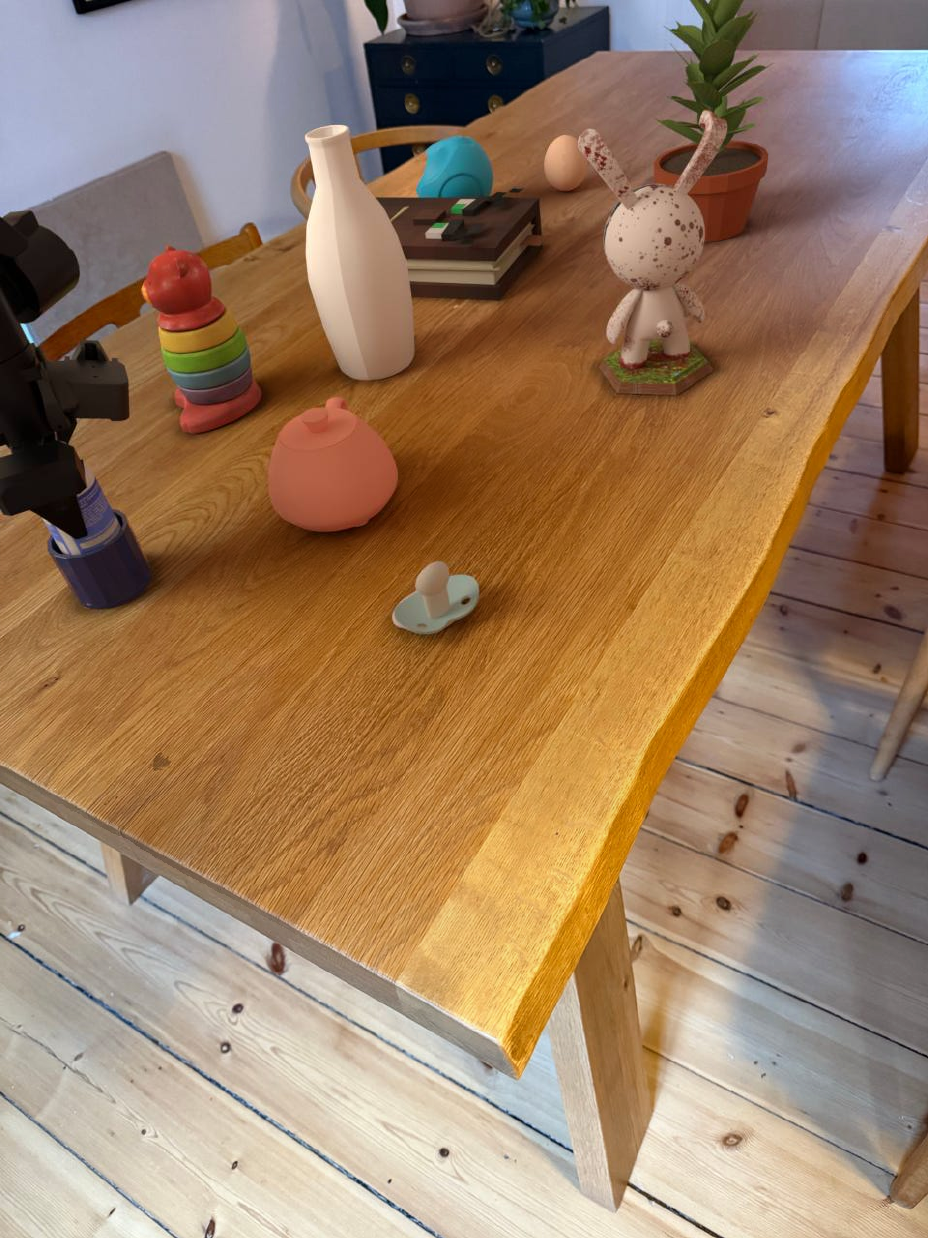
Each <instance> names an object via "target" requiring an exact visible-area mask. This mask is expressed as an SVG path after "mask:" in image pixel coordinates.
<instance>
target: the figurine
mask: <svg viewBox="0 0 928 1238" xmlns="http://www.w3.org/2000/svg"><path fill="white" fill-rule="evenodd" d="M699 126H700V127H701V128H702V129H704V130H705V132H704V134H702V135H703V137H702V139H701V142H700V144H699V146H698V148H697V150H696V152H695V153H694V155H693V157H692V159H691V160H690V162H689V164H688V165H687V167H686V168H685V170H684V172H683V173H682V175H681V176H680V178H679V180H678V181H677V183H676V185H675V187H673V186H669V185H664V184H655V183H648V184H644V185H641V186H638V187H636V188H634V189H633V187H632V185H631V184H630V182H629V180H628V178H627V176H626V175H625V173H624V171H623V169H622V168H621V166H620V164H619V162H618V161H617V159H616V157H615V156H614V154H613V153H612V151H611V150H610V148H609V147H608V145H607V144H606V141H604V139H603V137H602V136H601V134H600V133H599V132H598V130H596V129H593V128H587V129H585V130H584V131H582V133H580V135H579V136H578V139H577V140H578V146H579V150H580V151H581V153H582V154H583V155H584V156H585V157H586V158H587V162H588V163H589V164H590V165H591V166H592V167H593V168H594V170H595V171H596V172H597V173H598V175H599V176H600V178H602V180H603V182H605V184H606V185H607V186H608V187H609V189H610V190H611V191H612V193H613V194H614V196H616V198H617V199H618V200H619V201H618V202H617V203H616V204H615V206H614V207H613V209H612V210H611V212H610V214H609V216H608V218H607V221H606V224H605V227H604V230H603V231H604V232H603V248H604V249H603V250H604V253H605V257H606V260H607V262H608V265H609V267H610V269H611V270H612V272H613V273H614V274H615V275H616V277H617V278H618V279H619V280H620V281H622V282H623V283H624V284H626V285H627V286H629V287H630V288H633V289H632V290H630V291H629V292H628V293H627V294H626V295H625V296H624V297H623V299H622V300H621V301H620V302H619V304H618V305H617V307H616V308H615V309H614V310H613V312H612V315H611V316H610V318H609V320H608V322H607V326H606V330H605V331H606V333H605V335H606V338H607V341H608V342H609V343H611V344H612V345H616V344H617V340H618V339H619V338H620V336H621V335H622V334H623V333H624V337H623V342H622V347H621V348H620V349H618V350H617V351H615V352H613V353H612V354H610V355H608V356H607V357H605V358H604V359H603V360H602V361H601V363H600V364H599V366H598V369H599V370H600V371H601V372H602V374H603V375H604V377H605V378H606V380H607V381H608V383H610V386H612V388H613V389H614V391H615V392H616V394H621V395H622V394H625V395H647V396H648V395H650V396H677V397H678V395H680V394H681V393H683V392H684V391H686V390H688V389H689V388H691V387H692V386H693V385H695V384H697V382H699V381H701V380H702V379H703V378H705V377H707V376H708V375H710V374H711V373H713V372H714V369H713V367H712V365H711V364H710V362H709V361H708V360H707V358H706V357H704V355H703V354H702V353H701V352H700V351H699V350H698V349H697V348H696V347H695V346H694V344H693V343H691V341H690V337H689V332H688V327H687V324H686V320H685V319H686V318H690V316H693V318H694V320H695V321H697V323H698V324H699V325H702V324H703V323H704V321H705V317H706V313H705V311H706V310H705V307H704V305H703V301H701V299H700V297H699V296H698V295H697V294H696V293H695V292H694V290H692V289H691V288H690V287H689V286H688V285H686V284H685V283H684V282H682V281H683V280H684V278H686V277H687V276H688V275H689V274H690V273H691V272H692V271H693V270H694V268H695V266H696V265H697V263H698V261H699V260H700V257H701V255H702V252H703V249H704V244H705V242H704V238H705V228H704V221H703V218H702V215H701V212H700V210H699V208H698V206H697V205H696V203H695V202H694V201H693V199H692V198H691V197H690V196H689V195H687V193H688V192H689V191H690V189H691V188H692V187H693V186H694V184H695V183H696V182H697V180H698V179H699V178H700V177H701V175H702V174H703V173H704V171H705V170H706V169H707V167H708V166H709V165H710V163H711V162H712V160H713V159H714V157H715V156H716V154H717V152H718V151H719V149H720V147H721V145H722V143H723V141H724V139H725V136H726V133H727V123H726V120H725V119H723V118H721V117H719V116H717V115H716V114H714V113H713V112H711V111H710V110H704V111H703V112H702V114H701V117H700V120H699ZM624 331H625V332H624Z"/></svg>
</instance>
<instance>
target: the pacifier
mask: <svg viewBox="0 0 928 1238" xmlns="http://www.w3.org/2000/svg"><path fill="white" fill-rule="evenodd" d="M414 587H415V590H414V591H412V592H411V593H410V594H408V595H407V596H405V597H404V598H402V600H401V601H400V602H399V603H398V604H397V605H396V606H395V608H394V609H393V612H392V615H391V617H392V622H393V624H394V625H395V626H397V627H398V628H400V629H405V630H407V631H409V632H412V633H414V634H418V635H434V634H437V633H440V632H441V631H442V630H444V629H445V628H447V627H449V626H451V625H452V624H453V623H454V622H455V621H458V620H460V619H463V618H465V617H466V616H468V615H469V614H470V613H471V612H472V611H473V610H474V609H475V608H476V606H477V604H478V601H479V599H480V587H479V584H478V581H477V580H476V579H475V578H474V577H473V576H471V575H469V574H452V575H451V576H450V569H449V566H448V565H447V564H446V563H445V562H444V561H442V560H436V561H433V562H431V563H429V564H427V565H426V566H425V567H424V568H422V570H421V571H420V573H419V574H418V575H417V577H416V580H415V583H414ZM466 599H469V601H468V602H467V603H465V604H463V602H464V600H466Z"/></svg>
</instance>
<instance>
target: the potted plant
mask: <svg viewBox="0 0 928 1238" xmlns="http://www.w3.org/2000/svg"><path fill="white" fill-rule="evenodd" d="M689 1H690V3H691V5H692V6H693V7H694V9H695V10H696V12H697V13H698V15H699V16H700V18H701V20H702V24H701V28H700V27H698V26H696V25H692V24H688V25H686V24H685V25H684V24H683V25H682V24H681V23H680V22H679V21H677V20H675V23H676V25H677V28H671V29H670V28H668V27H666V26H665V25H663V27H664V28H665V29H666V30H668V31H669V32H670V33H672V35H674V36H675V37H677V38H678V39H679V40H681V41H682V42H683V43H685V44H686V45H687V46H688V47H689V49H690V50H691V52H692V53H693V54H694V56H695V57H696V58H697V60H698V61H699V62H694V60H693V59H692V58H691V57H689V62H688V61H687V60H686V59H685V58H684V57H683V55H682V54H681V53H680V52H679V51H678V50H677V49H676V48H675V47H674V46H673V45H672V44H670V46H671V47H672V48H673V49H674V51H675V52H676V53H677V54H678V55H679V57H680V58H681V59H682V61H684V63H685V64H686V65H687V66H686V67H685V74H686V81H683V84H685V85H686V86H687V87H688V88H689V90H690V91H691V92H692V94H693V97H694V100H692V99H686V98H683V97H681V96H678V95H677V96H676V95H671V96H667V95H666V97H667V98H669V99H671V100H672V101H674V102H676V103H678V104H680V105H681V106H683V107H685V108H686V109H689V110H690V111H693V112H695V114H696V123H693V122H688V121H676V120H672V119H663V120H659V119H657V118H655V117H653V119H654V120H655V121H657V122H658V123H660V124H661V125H662V126H664V127H666V128H667V129H670V130H671V131H673V132H675V133H677V134H678V135H681V136H682V137H684V138H686V139H688V140H690V141H691V142H694V143H689V144H685V145H681V146H676V147H675V148H672V149H669V150H667V151H665V152H663V153H662V154H660V155H659V156H657V157H656V159H655V160H654V162H653V181H654V184H664V185H669V186H673V187H675V185H676V183H677V181H678V180H679V178H680V176H681V175H682V173H683V172H684V170H685V168H686V167H687V165H688V164H689V162H690V160H691V159H692V157H693V155H694V153H695V152H696V150H697V148H698V146H699V144H700V142H701V139H702V137H703V135H704V132H705V130H704V129H702V128H701V127H700V126H699V120H700V117H701V114H702V112H703V111H704V110H710V111H711V112H713V113H714V114H716V115H717V116H719V117H721V118H723V119H725V120H726V123H727V133H726V136H725V139H724V141H723V143H722V145H721V147H720V149H719V151H718V152H717V154H716V156H715V157H714V159H713V160H712V162H711V163H710V165H709V166H708V167H707V169H706V170H705V171H704V173H703V174H702V175H701V177H700V178H699V179H698V180H697V182H696V183H695V184H694V186H693V187H692V188H691V189H690V191H689V192H688V193H687V195H689V196H690V197H691V198H692V199H693V201H694V202H695V203H696V205H697V206H698V208H699V210H700V212H701V215H702V218H703V221H704V228H705V238H704V243H710V242H712V243H713V242H719V241H723V240H727V239H731V238H733V237H736V236H737V235H740V233H742V232H743V231H744V230H745V228H746V226H747V222H748V219H749V215H750V212H751V210H752V207H753V203H754V201H755V198H756V194H757V191H758V188H759V185H760V183H761V180H762V179H763V178H764V177H765V176H766V174H767V170H768V164H769V163H768V162H769V153H768V151H767V149H766V148H765V147H763V146H761V145H759V144H756V143H752V142H748V141H742V140H732V138H733V137H734V135H737V134H740V133H742V132H746V131H748V130H750V129H754V128H757V126H756V123H750V124H746V125H743V126H740V125H741V123H742V122H743V120H744V118H745V116H746V112H747V109H749V108H751V107H752V106H754V105H756V104H759V103H760V102H763V101H764V100H766V99H767V98H769V97H771V96H770V95H769V96H766V97H765V98H764V97H762V96H755V97H753V98H751V99H749V100H747V101H746V99H743V101H742V102H740V104H739V105H736V106H731V107H728V94H730V93H731V92H732V91H734V90H735V89H737V88H738V87H740V86H742V85H743V84H745V83H746V82H748V81H749V80H751V79H752V78H753V77H755V76H757V75H758V74H760V73H761V72H763V71H764V70H766V69H767V68H769V67H770V66H772V65H773V64H774V62H772V63H770V64H769V65H767V66H765V65H755V66H753V67H750V68H749V69H747V70H745V68H747V67H748V66H749V65H750V64H751V63H752V62H754V60H755V59H757V58H758V57H759V55H761V52H759V53H758V54H753V55H751V56H750V57H748V58H747V59H744V60H740V61H737V62H735V63H733V62H734V59H735V53H736V51H737V49H738V46H739V45H740V43H741V41H742V40H743V39H744V37H745V36H746V35H747V33H748V32H749V31H750V29H751V28H752V26H753V25H754V24H755V18H756V17H757V15H758V13H759V11H757V12H756V13H755V14H754V10H755V7H753V8H752V9H751V10H750V11H749V12H748V13H746V14H743V15H740V16H737V14H738V12H739V10H740V8H741V7H742V4H743V3H744V1H745V0H709V2H708V1H707V0H689ZM752 15H753V16H752ZM743 70H745V71H744V72H742V71H743ZM740 72H742V73H740ZM697 129H698V130H699V131H700V132H699V131H697Z"/></svg>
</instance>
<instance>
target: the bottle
mask: <svg viewBox="0 0 928 1238" xmlns="http://www.w3.org/2000/svg"><path fill="white" fill-rule="evenodd" d="M350 131H351V130H350V128H349V126H348V125H344V124H331V125H324V126H321V127H318V128H314V129H313V130H310V131H308V132H307V133H306V134H305V135H304V140H305V142H306V143H307V145H308V148H309V154H310V160H311V166H312V171H313V177H314V183H315V190H314V194H313V198H312V202H311V206H310V210H309V215H308V219H307V223H306V233H305V262H306V271H307V279H308V280H307V281H308V285H309V288H310V290H311V294H312V297H313V300H314V303H315V304H314V305H315V307H316V310H317V313H318V316H319V320H320V323H321V327H322V329H323V332H324V334H325V336H326V338H327V341H328V343H329V346H330V348H331V350H332V353H333V355H334V357H335V360H336V361H337V364H338V367H339V369H340V371H341V372H342V373H343V374H344V375H346V376H347V377H349V378H351V379H354V380H358V381H367V382H368V381H378V380H383V379H387V378H390V377H393V376H395V375H397V374H399V373H401V372H402V371H404V370H405V369H407V368H408V367H409V366H410V364H411V363H412V361H413V360H414V357H415V333H414V332H415V328H414V327H415V325H414V306H413V299H412V296H411V291H410V283H409V276H408V268H407V261H406V258H405V255H404V252H403V250H402V247H401V244H400V241H399V238H398V235H397V233H396V231H395V229H394V227H393V225H392V223H391V221H390V219H389V217H388V215H387V213H386V211H385V210H384V208H383V207H382V206H381V205H380V203H379V202H378V201H377V199H376V197H375V196H374V194H373V193H372V192H371V190H370V189H369V188H368V186H366V184H365V183H364V182H363V180H362V179H361V178H360V174H359V170H358V167H357V162H356V159H355V155H354V150H353V147H352V143H351V139H350V133H351V132H350Z"/></svg>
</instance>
